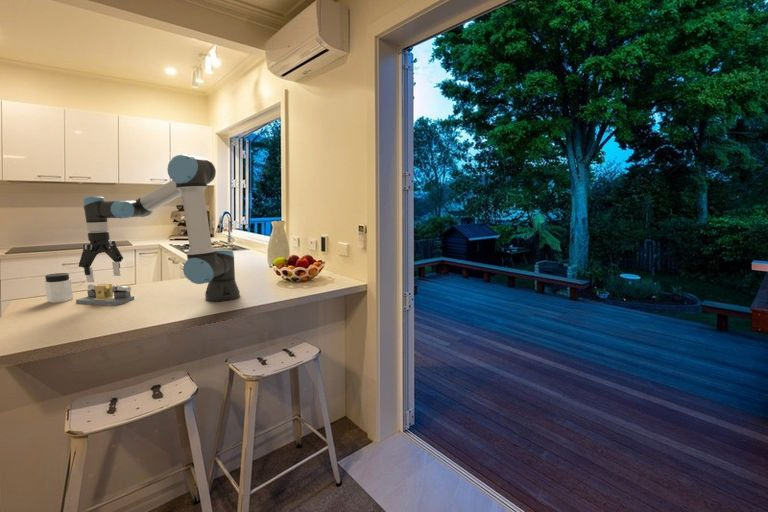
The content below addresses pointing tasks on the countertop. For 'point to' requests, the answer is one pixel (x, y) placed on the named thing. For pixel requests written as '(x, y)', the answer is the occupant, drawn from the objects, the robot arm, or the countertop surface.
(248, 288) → the countertop surface
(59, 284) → the jar
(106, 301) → the board
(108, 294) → the coupler
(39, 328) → the countertop surface
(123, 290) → the grey metal block
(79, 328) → the countertop surface
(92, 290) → the shaft
